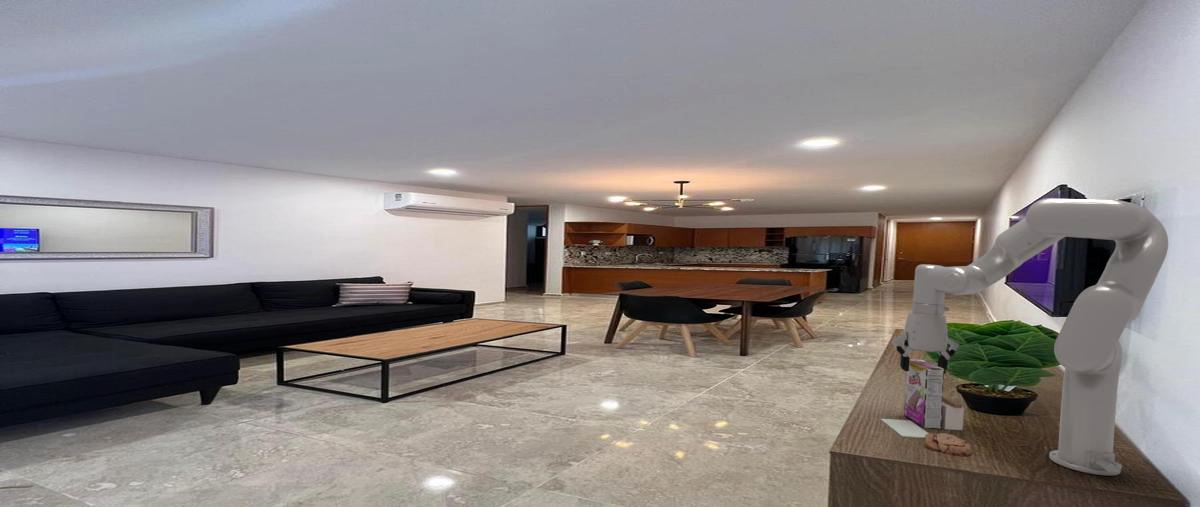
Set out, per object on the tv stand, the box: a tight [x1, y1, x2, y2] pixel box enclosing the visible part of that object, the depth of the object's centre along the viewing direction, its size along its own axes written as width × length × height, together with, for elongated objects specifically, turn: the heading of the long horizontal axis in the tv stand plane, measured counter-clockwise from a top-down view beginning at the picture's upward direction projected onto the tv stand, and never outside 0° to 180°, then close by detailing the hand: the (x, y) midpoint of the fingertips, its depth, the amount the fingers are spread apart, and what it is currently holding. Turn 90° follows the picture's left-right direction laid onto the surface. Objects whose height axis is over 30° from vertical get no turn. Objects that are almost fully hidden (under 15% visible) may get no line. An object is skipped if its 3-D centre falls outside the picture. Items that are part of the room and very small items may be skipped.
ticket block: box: [941, 394, 965, 431], centre depth 162 cm, size 13×5×7 cm, turn 175°
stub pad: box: [879, 418, 929, 439], centre depth 155 cm, size 14×8×1 cm, turn 175°
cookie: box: [923, 432, 973, 457], centre depth 142 cm, size 10×11×3 cm
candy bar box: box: [903, 358, 945, 430], centre depth 162 cm, size 11×5×16 cm, turn 179°
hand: (923, 371), depth 162 cm, fingers open, 9 cm apart
